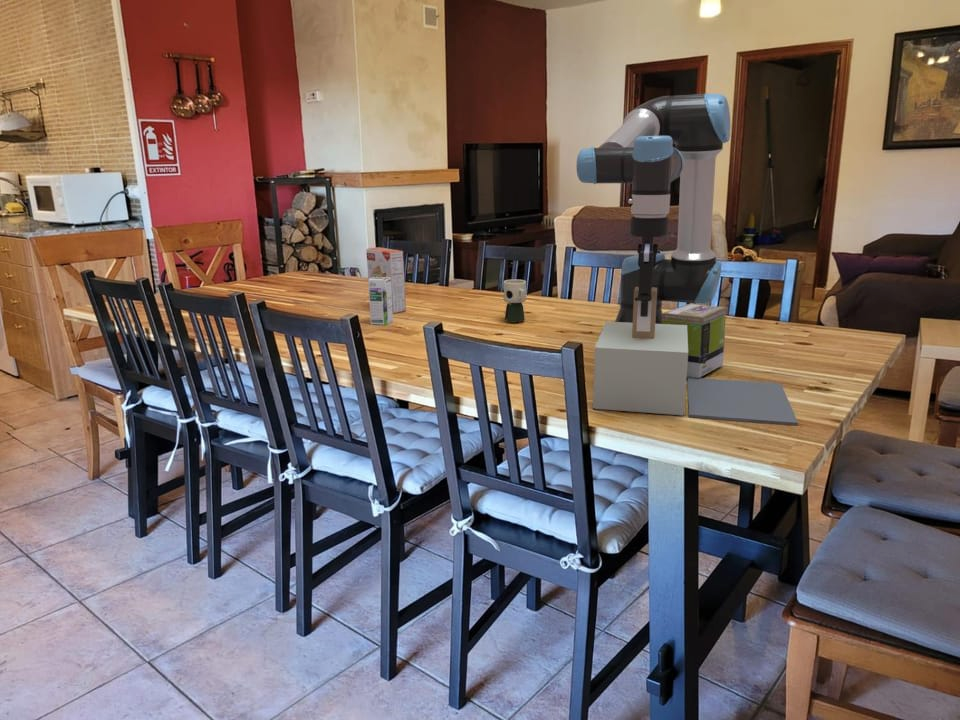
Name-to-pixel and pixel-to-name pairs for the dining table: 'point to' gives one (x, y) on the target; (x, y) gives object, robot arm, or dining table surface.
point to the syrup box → (380, 300)
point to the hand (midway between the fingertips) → (643, 327)
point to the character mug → (514, 299)
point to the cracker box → (389, 272)
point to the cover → (641, 366)
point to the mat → (739, 401)
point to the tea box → (701, 335)
